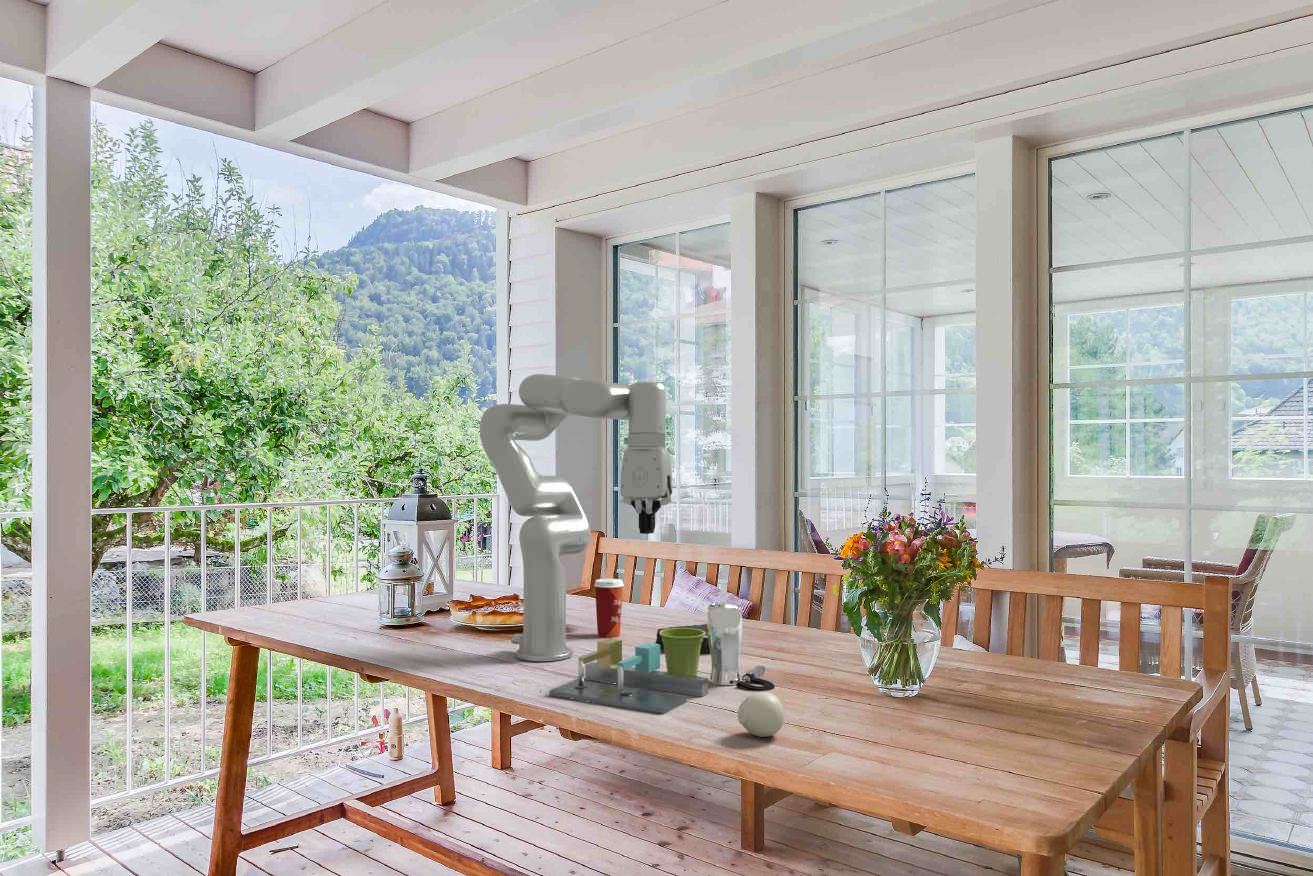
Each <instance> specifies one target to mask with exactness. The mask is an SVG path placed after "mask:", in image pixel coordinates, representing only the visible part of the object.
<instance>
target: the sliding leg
mask: <svg viewBox="0 0 1313 876" xmlns="http://www.w3.org/2000/svg"><path fill="white" fill-rule="evenodd" d="M634 650H635V651H634V652H635V653H634V654H635V655H634V656H631V657H628V658H626V659H622V661H620V662H618V684H617V686H618V692H623V687H624V685H623V670H624V669H627V668H629V667H632V668H633V667H634V668H635V671H638V672H645V673H650V672H652V671H658V670H659V669H661V646H660V644H656V643H651V642H646V643H643V644H640V645H637V646H635V649H634Z"/></svg>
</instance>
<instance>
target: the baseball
mask: <svg viewBox="0 0 1313 876" xmlns="http://www.w3.org/2000/svg"><path fill="white" fill-rule="evenodd" d="M784 711H785V710H784V707H783V704H782V702H781V701H780V699H779V698H778V696H776V695H774V694H773V693H769V692H766V691H755V692H753V693H751V694H750V695H747V696H746V697H745V699H744V700H742V702H741V703H740V705H739V707H738V709H737V721H738V722H739V724H740V725H741V726H742V727H743V728H744V729H745V730H746V731H747V732H748V733H750V734H751V735H753V736H755V737H760V738H767V737H771V736H774V735H776V734H777V733H778V732H779V731H780V730H781V729H782V727H783V724H784V721H785V712H784Z"/></svg>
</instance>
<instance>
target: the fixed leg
mask: <svg viewBox="0 0 1313 876" xmlns="http://www.w3.org/2000/svg"><path fill="white" fill-rule="evenodd" d="M596 647H597V648H596V649H597V650H595V651H593V652H590V653H587V654H584V655H581V656H578V671H577V672H578V673H577V674H578V677H577V680H578V686H584V681H585V674H584V673H585V664H588V663H591V662H596V663H597V668H604V669H612V668H615V667H617V666H618V662H620V661H623V640H622V639H615V638H605V639H604V640H601V641H597V644H596Z"/></svg>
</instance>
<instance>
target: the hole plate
mask: <svg viewBox="0 0 1313 876" xmlns="http://www.w3.org/2000/svg"><path fill="white" fill-rule="evenodd" d="M549 695H552V696H551V697H554V696H558V697H557V698H560V697H566V698H573V699H576V700H575V701H578V700H583V701H582V702H584V701H589V702H588V703H591V702H595V703H594V704H597V703H600V704H599V705H603V704H608V705H607V706H609V705H613V706H612V707H615V706H619V707H618V708H621V707H624V708H623V709H627V708H631V709H630V710H634V711H635V710H636V711H641V712H646V711H647V712H646V713H654V714H658V713H660V714H659V715H664V714H666V713H668V712H670V711H672V710H673V708H674V709H675V707H676V708H678V707H679V705H680V706H681V704H682V705H683V704H685V703H687V702H688V696H687V695H683V694H677V693H670V692H663V691H657V690H650V689H643V688H636V687H630V686H623V692H618V685H616V684H609V683H603V682H596V681H589V680H584V686H578V679H576V680H573V681H570V682H568V683H565V684H562V685H560V686H557V687H555V688H552V689H549ZM566 698H565V699H566ZM677 706H678V707H677Z"/></svg>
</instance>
